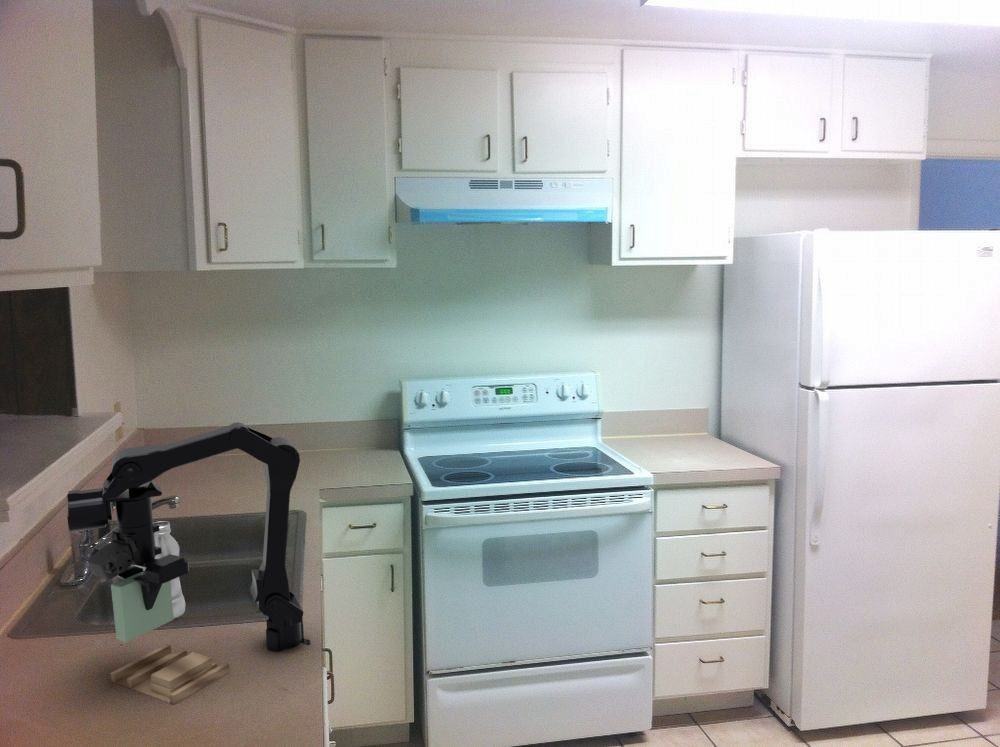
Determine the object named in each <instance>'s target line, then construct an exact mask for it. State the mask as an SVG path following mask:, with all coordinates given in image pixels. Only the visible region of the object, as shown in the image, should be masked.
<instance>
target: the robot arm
mask: <svg viewBox="0 0 1000 747" xmlns="http://www.w3.org/2000/svg"><path fill="white" fill-rule="evenodd" d="M238 449H239V450H240V451H243V452H245V453H246V454H248V455H249V456H251V457H252V458H255V459H256V460H258V461H260V462H261V463H263V471H264V477H265V483H266V504H265V505H266V506H265V521H264V537H263V549H262V550H263V552H262V562H261V564H260V567H259V569H254V568H253V569H252V568H251V577H252V582H251V585H250V587H249V590H250V592H251V595H252V597H253V598H252V599H253V601H254V603H256V604H257V607H258V609H259V611H260V612H261V614H263V615H264V616H266V617H268V619H266V621H265V622H266V629H265V639H266V650H269V651H271V652H275V653H280V652H282V651H284V650H290V649H293V648H296V647H298V646H299V645H300V644H303V645H305V646H308V645H310V644H311V640H310V639H308V638H305V635H304V634H305V633H304V621H303V618H304V617H303V616H304V613H305V612H304V610H303V608H302V606H301V604H300V602H299V600H298V598H297V595H296V594H295V593H294V592H292V591H291V590H290V584H289V579H288V574H287V569H286V561H287V558H286V557H287V545H288V544H287V542H288V528H289V514H290V513H289V512H290V511H289V510H290V501H291V500H290V499H291V491H292V488H293V486H294V483H295V482H296V479H297V475H298V472H299V467H300V463H301V458H300V453H299V451H298V450H297V448H296V447H295V446H294V445H293V444H292V442H290V440H288V439H287V438H285V437H280V436H278V437H272V436H270V435H267V434H266V433H263V432H261V431H260V430H259V431H258V430H256V429H254V428H251V427H249V426H247V425H246V424H244V423H243V422H239V421H238V422H233V423H231V424H230V425H227V426H224V427H220V428H217V429H215V430H211V431H207V432H204V433H200V434H197V435H193V436H190V437H188V438H187V437H186V438H183V439H180V440H177V441H174V442H170V443H167V444H161V445H160V444H159V445H143V446H142V445H141V446H133V447H128V448H123V449H122V450H121V449H120V450H119V451H118V452H117V453H116V454H115V456H114V458H112V462H111V472H110V473H109V474H108V476H107V477H106V479H105V480H104V482H103V483H102V487H99V488H98V487H97V488H92V489H84V490H77V489H74V490H68V491H67V494H66V496H67V516H66V517H67V523H68V524H67V525H68V531H69V533H74V532H81V531H82V532H83V531H86V530H87V531H88V530H89V531H90V530H96V529H103V528H107V525H109V521H113V510H112V503H115V514H116V521H117V522H116V523H117V529H114V530H112V533H111V542H109V543H106V544H104V545H101V546H98V547H96V548H94V549H93V551H92V553H91V555H90V557H89V558H88V559H87V563H88V565H89V566H90V570H91V571H92V573H93V574H94V576H95V577H96V578H102V579H105V580H108V581H109V580H113V579H115V578H116V577H117V578H119V579H120V581H121V580H123V579H126V578H128V577H131V576H133V575H135V574H138V573H140V572H142V575H140V576H138V577H135V578H133V579H134V580H135V581H137V582H138V583H140V584H141V589H142V594H143V600H144V604H145V608H146V610H150V609H152V608H153V606H154V603H155V601H156V598H157V596H158V593H159V591H160V588H161V586H162V584H163V583H166V582H168V581H171V580H173V579H175V578H177V577H179V578H180V577H181V576H185V575H187V574H189V573H190V567H189V560H188V559H186V558H185V557H182V556H180V555H179V556H175V555H171V554H169V555H167V556H165V557H162V558H157V559H155V556H156V555H158V554H161V553H162V551H161V547H156V545H155V534H154V533H155V532H157V531H160V530H159V525H156V524H153V523H154V516H153V504H152V498H155V497H161V496H162V495H163V489H162V486H160V485H158V484H156V483H155V482H154V481H153V480H155V479H157V478H159V477H160V476H162V475H163V474H165V473H166V472H168V471H170V470H172V469H175V468H178V467H182V466H185V465H188V464H192V463H195V462H198V461H201V460H204V459H207V458H211V457H214V456H217V455H221V454H223V453H224V454H225V453H226V452H230V451H233V450H238ZM127 490H128V491H127Z"/></svg>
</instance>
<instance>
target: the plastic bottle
mask: <svg viewBox="0 0 1000 747" xmlns="http://www.w3.org/2000/svg"><path fill="white" fill-rule="evenodd" d="M153 524H156V525H159V530H160V531H157V532H155V533H154V534H155V545H156V547H161V551H162V553H161V554H158V555H156V556H155V559H157V558H162V557H165V556H167V555H169V554H171V555H175V556H179V557H180V546H179V545H180V544H178V543H179V542H178V541H176V539H175V537H173V536H172V535H171V534H170V533H171V532H172V528H171V523H170V521H166V520H165V521H164V520H163V521H161V520H160V521H156V522H153ZM170 584H171V595H172V606H173V617H174V620H175V619H177V618H180V617H181V616H183V615H184V613H185V612H186V601H185V596H184V595H183V592H182V586H181V585H182V584H181V581H180V577H177V578H175V579H173V580H171V581H170Z"/></svg>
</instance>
